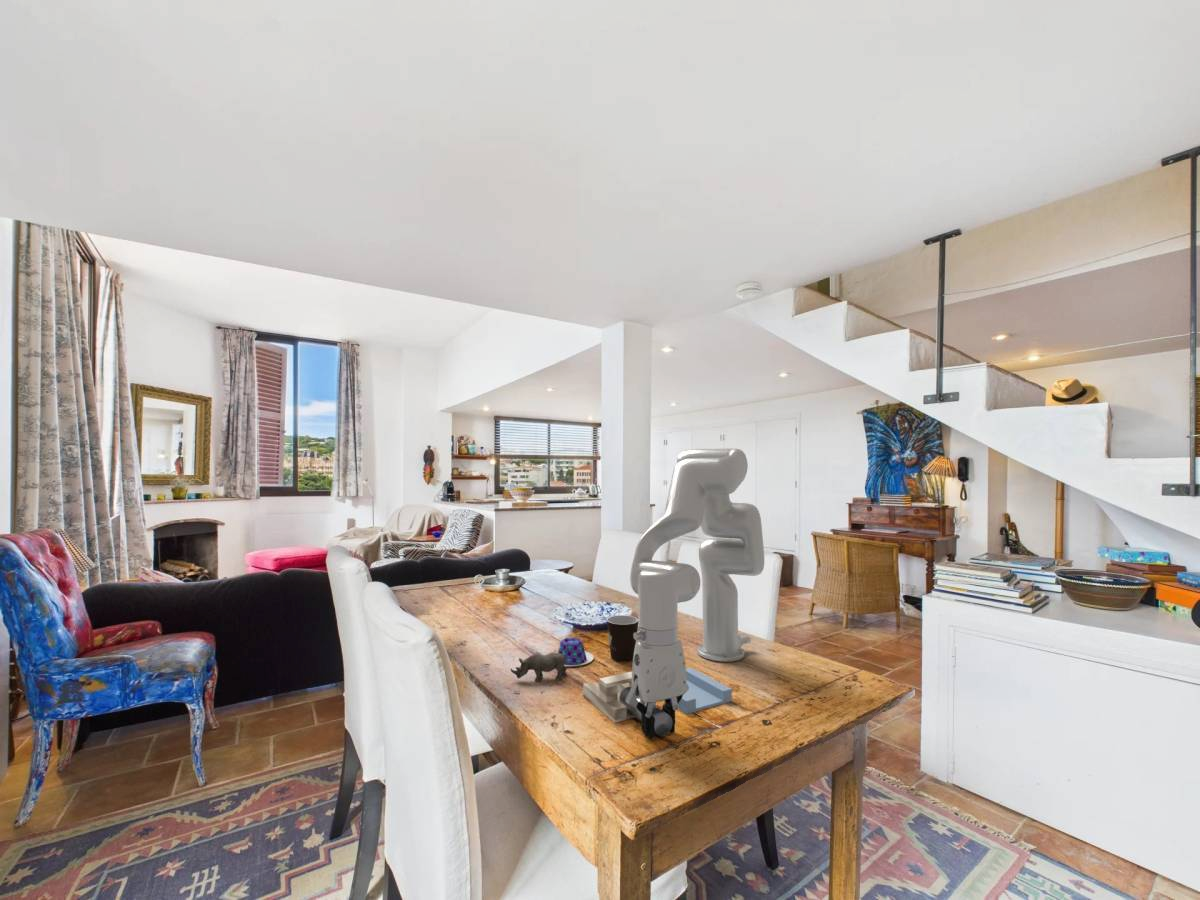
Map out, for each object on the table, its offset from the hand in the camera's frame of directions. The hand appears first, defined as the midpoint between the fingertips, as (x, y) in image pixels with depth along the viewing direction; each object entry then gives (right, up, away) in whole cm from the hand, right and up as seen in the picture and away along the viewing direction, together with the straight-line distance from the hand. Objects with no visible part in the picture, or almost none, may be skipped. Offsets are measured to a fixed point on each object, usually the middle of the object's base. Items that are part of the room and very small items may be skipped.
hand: (658, 731), depth 95 cm
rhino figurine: (-26, -2, +26) cm, 36 cm away
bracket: (-7, -1, +13) cm, 15 cm away
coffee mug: (-5, -3, +42) cm, 42 cm away
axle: (-2, +2, +4) cm, 5 cm away
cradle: (+9, -1, +17) cm, 19 cm away
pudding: (-19, -3, +39) cm, 43 cm away
